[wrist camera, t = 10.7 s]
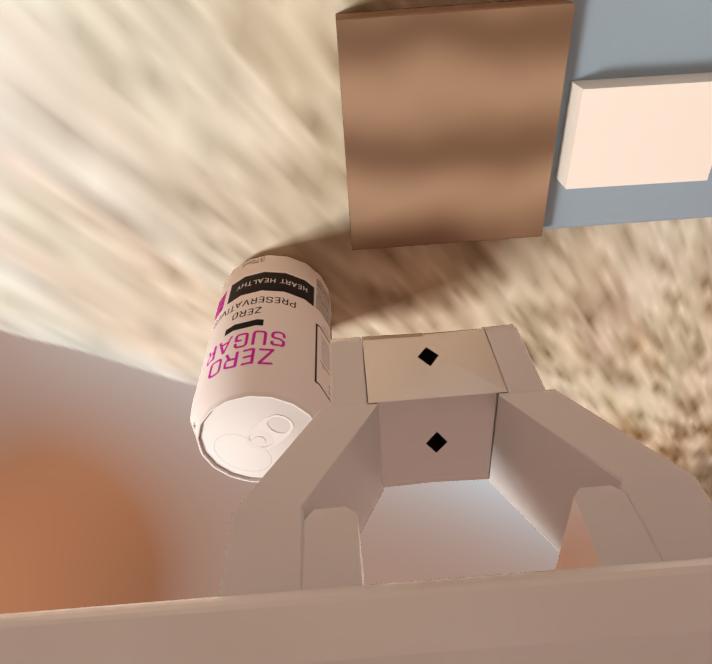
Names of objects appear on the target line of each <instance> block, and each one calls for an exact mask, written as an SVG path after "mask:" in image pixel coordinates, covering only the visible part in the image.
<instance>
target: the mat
mask: <svg viewBox="0 0 712 664" xmlns="http://www.w3.org/2000/svg"><path fill="white" fill-rule="evenodd" d="M568 1H571V2H573V3H575V9H574V16H573V23H572V30H571V37H570V44H569V51H568V57H567V64H566V71H565V78H564V85H563V92H562V99H561V106H560V113H559V120H558V127H557V133H556V140H555V147H554V154H553V161H552V168H551V175H550V182H549V189H548V196H547V203H546V209H545V216H544V223H543V229H553V228H567V227H580V226H594V225H608V224H621V223H635V222H649V221H663V220H676V219H690V218H704V217H712V167H711V170H710V173H709V176H708V179H707V180H704V181H688V182H672V183H656V184H640V185H624V186H608V187H593V188H577V189H565V188H564V186H563V185H562V184H561V183H560V182H559V181H558V179H557V178H556V172H557V166H558V160H559V154H560V148H561V141H562V135H563V129H564V123H565V117H566V110H567V104H568V98H569V92H570V86H571V81H579V80H596V79H612V78H628V77H645V76H661V75H677V74H694V73H710V72H712V0H568Z"/></svg>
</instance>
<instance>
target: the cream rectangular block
mask: <svg viewBox="0 0 712 664" xmlns="http://www.w3.org/2000/svg"><path fill="white" fill-rule="evenodd" d="M711 167H712V72H710V73H694V74H677V75H661V76H645V77H628V78H612V79H596V80H579V81H571V86H570V92H569V98H568V104H567V110H566V117H565V123H564V129H563V135H562V141H561V148H560V154H559V160H558V166H557V172H556V178H557V179H558V181H559V182H560V183H561V184H562V185H563V186H564V188H565V189H577V188H593V187H608V186H624V185H640V184H656V183H672V182H688V181H704V180H707V179H708V176H709V173H710V170H711Z"/></svg>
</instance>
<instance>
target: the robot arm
mask: <svg viewBox="0 0 712 664" xmlns="http://www.w3.org/2000/svg"><path fill="white" fill-rule="evenodd" d="M362 344H363V348H362ZM363 358H364V359H363ZM330 404H331V407H330V408H322V409H320V411H319V412H318V413H317V414H316V415H315V417H314V418H313V419H312V420H311V421H310V422H309V424H308V425H307V426H306V427H305V428H304V429H303V431H302V432H301V433H300V434H299V435H298V436H297V438H296V439H295V440H294V441H293V442H292V443H291V445H290V446H289V447H288V448H287V449H286V450H285V452H284V453H283V454H282V455H281V456H280V457H279V459H278V460H277V461H276V462H275V463H274V465H273V466H272V467H271V468H270V469H269V470H268V472H267V473H266V474H265V475H264V476H263V477H262V479H261V480H260V481H259V482H258V483H257V484H256V486H255V487H254V488H253V489H252V490H251V492H250V493H249V494H248V495H247V496H246V497H245V498H244V500H243V501H242V502H241V503H240V504H239V505H238V507H237V508H236V509H235V510H234V511H233V513H232V516H231V523H230V529H229V536H228V542H227V548H226V555H225V562H224V568H223V574H222V581H221V587H220V594H219V597H209V598H196V599H185V600H172V601H160V602H146V603H135V604H122V605H109V606H96V607H84V608H71V609H59V610H47V611H34V612H22V613H9V614H0V664H712V502H711V500H710V499H709V497H708V496H707V494H706V493H705V491H704V489H703V488H702V486H701V485H700V483H699V482H698V480H697V479H696V477H695V476H693V475H692V474H690V473H688V472H687V471H685V470H684V469H682V468H680V467H679V466H677V465H676V464H674V463H672V462H671V461H669V460H667V459H666V458H664V457H663V456H661V455H659V454H658V453H656V452H655V451H653V450H651V449H650V448H648V447H647V446H645V445H643V444H642V443H640V442H639V441H637V440H635V439H634V438H632V437H631V436H629V435H627V434H626V433H624V432H622V431H621V430H619V429H618V428H616V427H614V426H613V425H611V424H610V423H608V422H606V421H605V420H603V419H602V418H600V417H598V416H597V415H595V414H594V413H592V412H590V411H589V410H587V409H586V408H584V407H582V406H581V405H579V404H577V403H576V402H574V401H573V400H571V399H569V398H568V397H566V396H565V395H563V394H561V393H560V392H558V391H557V390H555V389H553V390H545V388H544V386H543V384H542V382H541V379H540V377H539V375H538V373H537V371H536V369H535V366H534V364H533V362H532V360H531V358H530V356H529V353H528V351H527V349H526V347H525V345H524V343H523V341H522V338H521V336H520V334H519V332H518V330H517V328H516V327H515V326H514V325H512V324H509V325H500V326H491V327H482V328H481V329H471V330H459V331H447V332H436V333H424V334H422V333H417V334H401V335H384V336H368V337H362V339H361V338H360V337H355V338H342V339H331V342H330ZM476 479H489V482H490V483H491V484H492V485H493V486H494V487H495V488H496V489H497V490H498V491H499V492H500V493H501V494H502V495H503V496H504V497H505V498H506V499H507V500H508V501H509V502H510V503H511V504H512V505H513V506H514V507H515V508H516V509H517V510H518V511H519V512H520V513H521V514H522V515H523V516H524V517H525V518H526V519H527V520H528V521H529V522H530V523H531V524H532V525H533V526H534V527H535V528H536V529H537V530H538V531H539V532H540V533H541V534H542V535H543V536H544V537H545V539H547V540H548V542H549V543H550V544H551V545H552V546H553V547H554V548H555V549H556V550H557V551H558V552H559V553H560V554H559V558H558V562H557V566H556V569H555V570H548V571H535V572H523V573H510V574H497V575H484V576H472V577H459V578H448V579H435V580H422V581H410V582H397V583H384V584H371V585H365V582H364V572H363V563H362V555H361V554H362V553H361V544H360V534H361V532H362V530H363V528H364V526H365V524H366V523H367V521H368V519H369V517H370V515H371V513H372V511H373V509H374V507H375V506H376V504H377V502H378V500H379V498H380V496H381V494H382V493H383V491H384V489H383V487H390V486H400V485H409V484H418V483H427V482H440V481H458V480H476Z"/></svg>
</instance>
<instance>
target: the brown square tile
mask: <svg viewBox="0 0 712 664" xmlns="http://www.w3.org/2000/svg"><path fill="white" fill-rule="evenodd" d="M574 9H575V3H573V2H571V1H568V0H519V1H505V2H492V3H478V4H464V5H450V6H436V7H423V8H409V9H395V10H381V11H368V12H354V13H340V14H336V27H337V41H338V56H339V70H340V84H341V98H342V113H343V127H344V141H345V156H346V170H347V184H348V198H349V213H350V227H351V240H352V250H359V249H372V248H386V247H400V246H414V245H427V244H441V243H455V242H468V241H482V240H496V239H510V238H523V237H537V236H542V230H543V223H544V216H545V209H546V203H547V196H548V189H549V182H550V175H551V168H552V161H553V154H554V147H555V140H556V133H557V127H558V120H559V113H560V106H561V99H562V92H563V85H564V78H565V71H566V64H567V57H568V51H569V44H570V37H571V30H572V23H573V16H574Z"/></svg>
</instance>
